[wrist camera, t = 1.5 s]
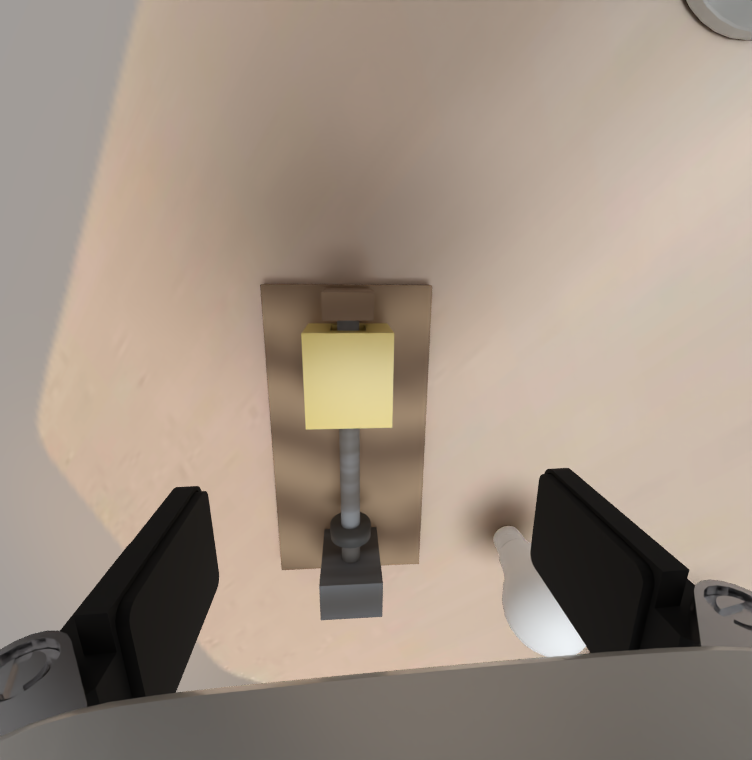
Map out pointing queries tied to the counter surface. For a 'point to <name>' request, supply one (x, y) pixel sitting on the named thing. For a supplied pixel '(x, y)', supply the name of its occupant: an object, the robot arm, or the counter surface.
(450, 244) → the counter surface
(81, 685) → the robot arm
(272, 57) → the counter surface
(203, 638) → the counter surface
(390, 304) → the cable rail
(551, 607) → the lightbulb
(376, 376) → the sleeve
